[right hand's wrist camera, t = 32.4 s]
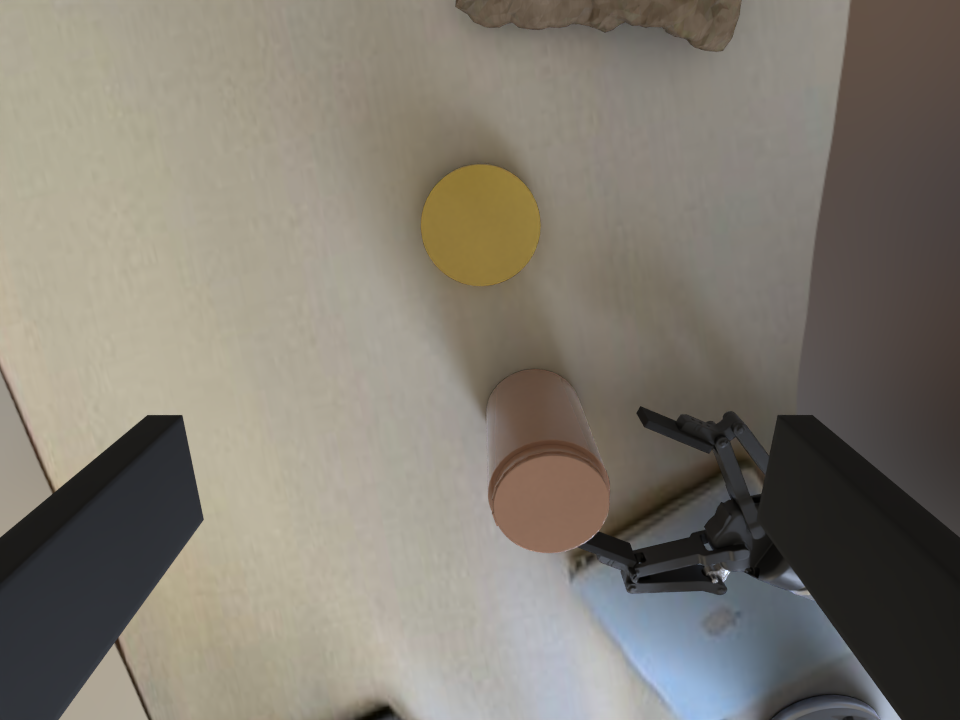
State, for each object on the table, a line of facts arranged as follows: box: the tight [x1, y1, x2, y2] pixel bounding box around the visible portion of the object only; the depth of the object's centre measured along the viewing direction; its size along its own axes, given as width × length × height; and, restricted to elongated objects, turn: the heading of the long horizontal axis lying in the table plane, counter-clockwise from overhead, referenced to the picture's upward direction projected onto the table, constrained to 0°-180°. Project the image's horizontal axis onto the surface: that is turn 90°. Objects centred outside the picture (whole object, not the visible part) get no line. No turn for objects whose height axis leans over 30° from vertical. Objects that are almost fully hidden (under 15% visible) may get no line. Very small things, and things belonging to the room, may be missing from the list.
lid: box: [421, 164, 541, 286], centre depth 50 cm, size 10×10×2 cm
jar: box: [486, 369, 610, 553], centre depth 50 cm, size 9×9×16 cm
